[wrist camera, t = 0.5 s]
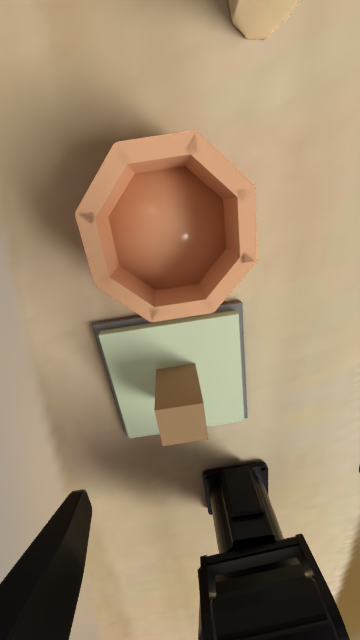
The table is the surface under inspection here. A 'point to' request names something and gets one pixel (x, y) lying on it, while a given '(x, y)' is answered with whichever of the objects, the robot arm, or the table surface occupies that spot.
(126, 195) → the bowl
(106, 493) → the table surface
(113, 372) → the cover board
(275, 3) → the milkshake
